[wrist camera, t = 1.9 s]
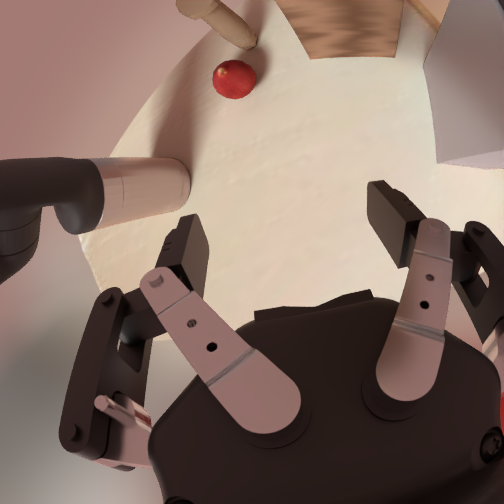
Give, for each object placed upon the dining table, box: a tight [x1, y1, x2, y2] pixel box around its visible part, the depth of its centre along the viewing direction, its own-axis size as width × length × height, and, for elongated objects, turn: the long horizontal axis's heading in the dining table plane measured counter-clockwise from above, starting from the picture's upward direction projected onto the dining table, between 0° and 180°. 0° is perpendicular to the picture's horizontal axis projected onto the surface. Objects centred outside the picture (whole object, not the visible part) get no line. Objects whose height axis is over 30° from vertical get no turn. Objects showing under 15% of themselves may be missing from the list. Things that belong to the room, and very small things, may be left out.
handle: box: [176, 0, 257, 50], centre depth 25 cm, size 5×6×15 cm
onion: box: [213, 60, 256, 99], centre depth 31 cm, size 6×6×8 cm
